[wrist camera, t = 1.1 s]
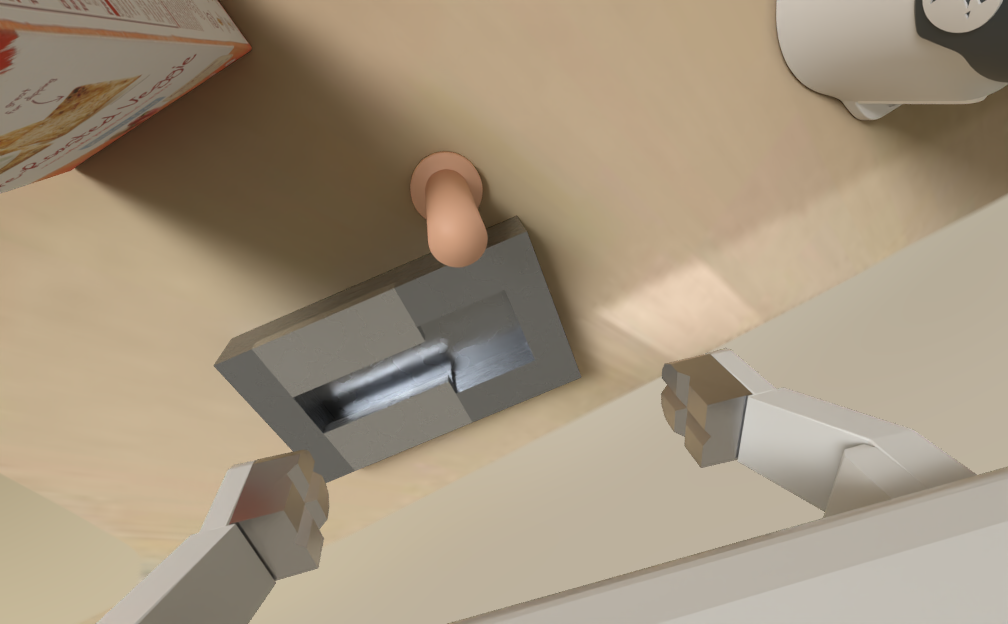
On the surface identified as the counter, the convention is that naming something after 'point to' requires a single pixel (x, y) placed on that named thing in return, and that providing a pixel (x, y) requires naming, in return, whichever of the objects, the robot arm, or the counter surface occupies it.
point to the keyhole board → (405, 355)
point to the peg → (450, 207)
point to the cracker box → (97, 73)
